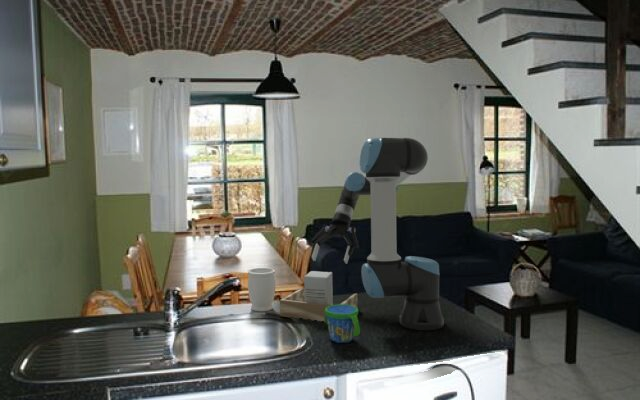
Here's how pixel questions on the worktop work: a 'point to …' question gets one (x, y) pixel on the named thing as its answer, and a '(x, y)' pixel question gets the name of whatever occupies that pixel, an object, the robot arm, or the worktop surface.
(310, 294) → the supplement box
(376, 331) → the worktop surface
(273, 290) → the jar
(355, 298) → the wooden u-shaped frame
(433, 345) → the worktop surface
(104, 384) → the worktop surface
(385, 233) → the robot arm
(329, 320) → the snack cup
